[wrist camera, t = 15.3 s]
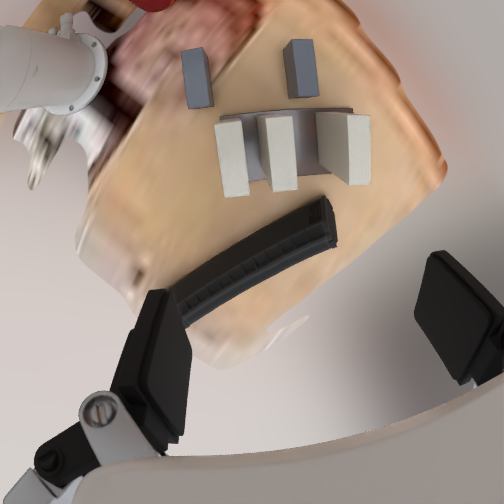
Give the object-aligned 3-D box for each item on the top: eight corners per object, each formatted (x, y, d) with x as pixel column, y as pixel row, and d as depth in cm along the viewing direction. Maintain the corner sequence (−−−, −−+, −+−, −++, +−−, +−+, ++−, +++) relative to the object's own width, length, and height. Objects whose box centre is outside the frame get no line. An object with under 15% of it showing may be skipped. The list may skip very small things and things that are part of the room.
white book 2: (256, 116, 32) (265, 117, 23) (275, 114, 32) (292, 115, 23) (262, 168, 36) (272, 192, 26) (280, 166, 36) (298, 189, 26)
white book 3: (315, 112, 32) (346, 114, 23) (332, 112, 32) (369, 115, 23) (318, 163, 36) (349, 185, 26) (335, 162, 36) (370, 184, 26)
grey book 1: (189, 60, 29) (180, 51, 24) (207, 56, 29) (202, 47, 24) (195, 109, 33) (188, 109, 27) (214, 106, 33) (210, 105, 27)
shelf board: (220, 116, 33) (219, 116, 32) (349, 108, 33) (353, 108, 32) (229, 181, 38) (228, 184, 37) (352, 170, 38) (355, 172, 37)
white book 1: (220, 120, 32) (213, 124, 23) (239, 117, 32) (241, 120, 23) (227, 173, 36) (224, 198, 26) (245, 170, 36) (250, 195, 26)
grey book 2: (282, 49, 29) (291, 39, 24) (300, 49, 29) (312, 39, 24) (288, 98, 33) (298, 96, 27) (306, 97, 33) (319, 96, 27)
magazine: (361, 203, 30) (152, 366, 29) (371, 226, 32) (171, 381, 30) (296, 186, 46) (151, 298, 44) (305, 202, 47) (164, 311, 46)
